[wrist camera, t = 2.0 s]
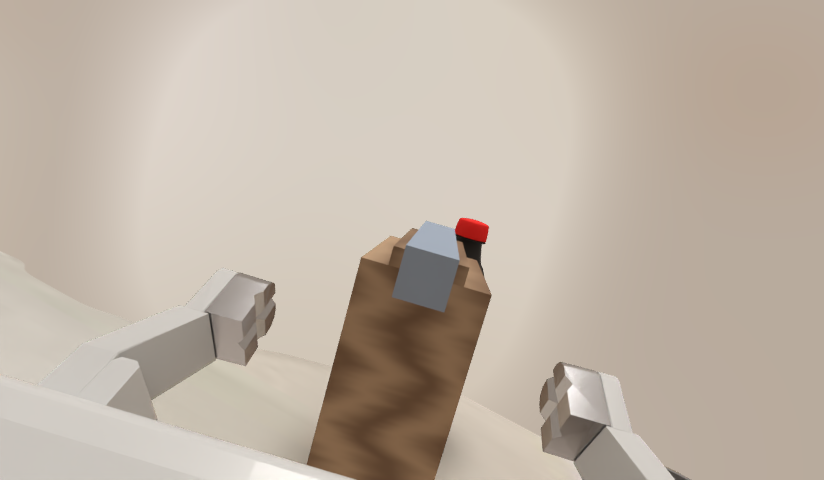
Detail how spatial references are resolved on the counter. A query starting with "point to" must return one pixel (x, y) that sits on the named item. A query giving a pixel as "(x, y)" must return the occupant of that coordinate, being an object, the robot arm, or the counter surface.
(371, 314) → the walnut block
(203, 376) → the counter surface
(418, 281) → the gray block
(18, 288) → the counter surface
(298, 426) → the counter surface
